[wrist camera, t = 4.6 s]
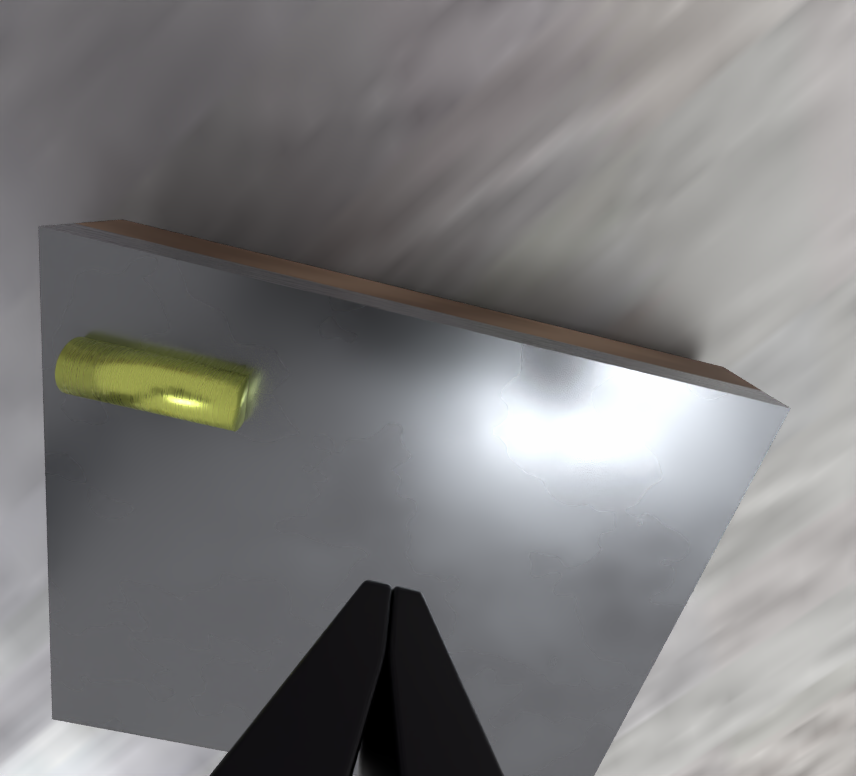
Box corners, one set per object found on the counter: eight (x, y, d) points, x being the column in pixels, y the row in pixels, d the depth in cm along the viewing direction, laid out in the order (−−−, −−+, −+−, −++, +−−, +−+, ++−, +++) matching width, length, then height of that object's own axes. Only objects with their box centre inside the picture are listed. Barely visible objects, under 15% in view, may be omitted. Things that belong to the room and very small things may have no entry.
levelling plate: (76, 686, 18) (29, 749, 16) (74, 223, 13) (2, 228, 10) (564, 779, 19) (579, 849, 17) (761, 391, 14) (818, 425, 12)
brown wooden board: (127, 618, 21) (78, 684, 18) (141, 217, 15) (74, 223, 12) (548, 702, 22) (564, 776, 19) (707, 357, 16) (761, 391, 14)
